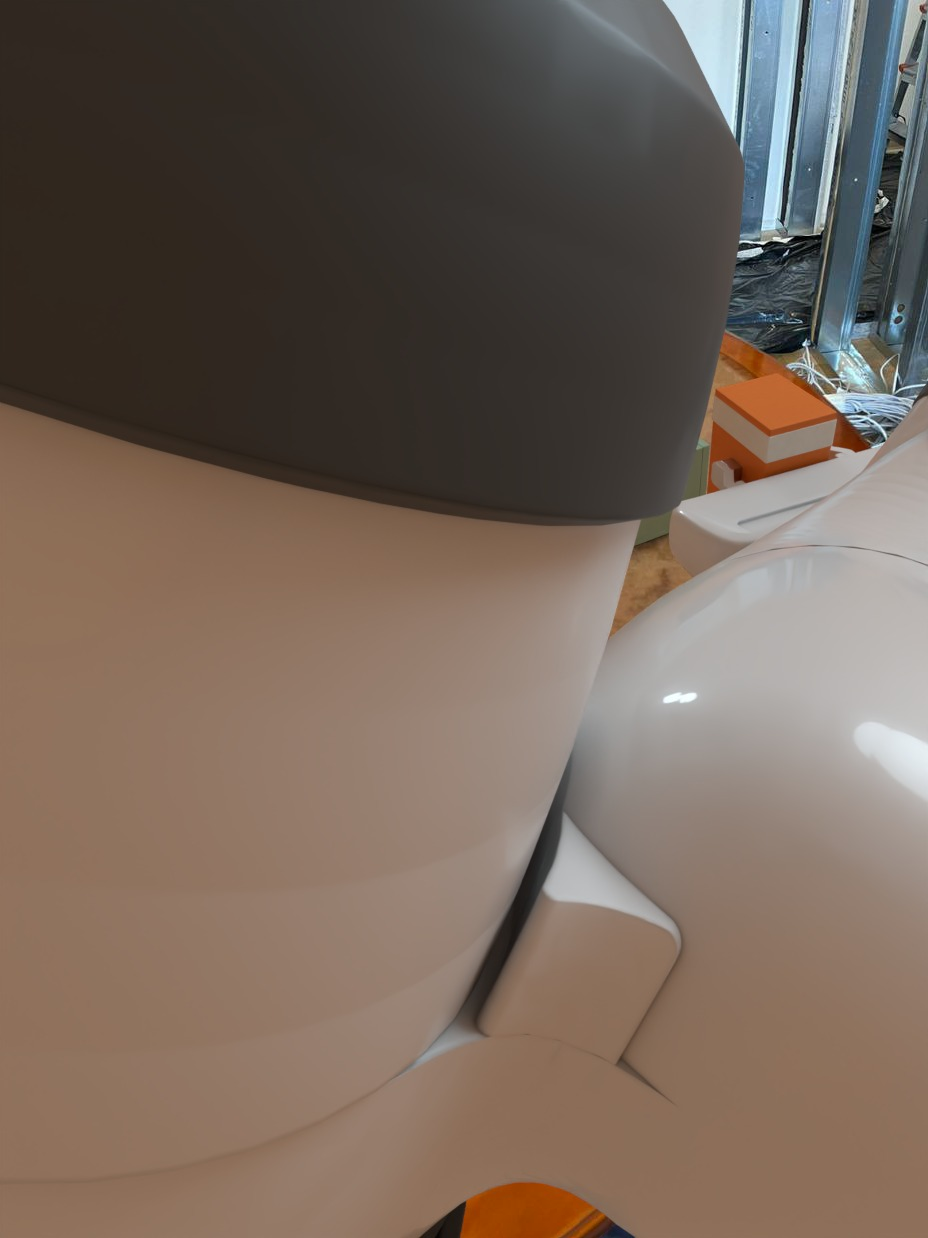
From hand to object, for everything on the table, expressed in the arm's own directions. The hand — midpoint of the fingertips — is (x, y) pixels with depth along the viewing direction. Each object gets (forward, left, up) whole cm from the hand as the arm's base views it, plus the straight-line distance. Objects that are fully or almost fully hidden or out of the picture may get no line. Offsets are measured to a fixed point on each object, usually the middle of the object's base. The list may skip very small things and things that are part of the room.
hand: (758, 457), depth 63 cm
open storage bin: (+7, +20, -17) cm, 27 cm away
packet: (0, -1, -6) cm, 6 cm away
